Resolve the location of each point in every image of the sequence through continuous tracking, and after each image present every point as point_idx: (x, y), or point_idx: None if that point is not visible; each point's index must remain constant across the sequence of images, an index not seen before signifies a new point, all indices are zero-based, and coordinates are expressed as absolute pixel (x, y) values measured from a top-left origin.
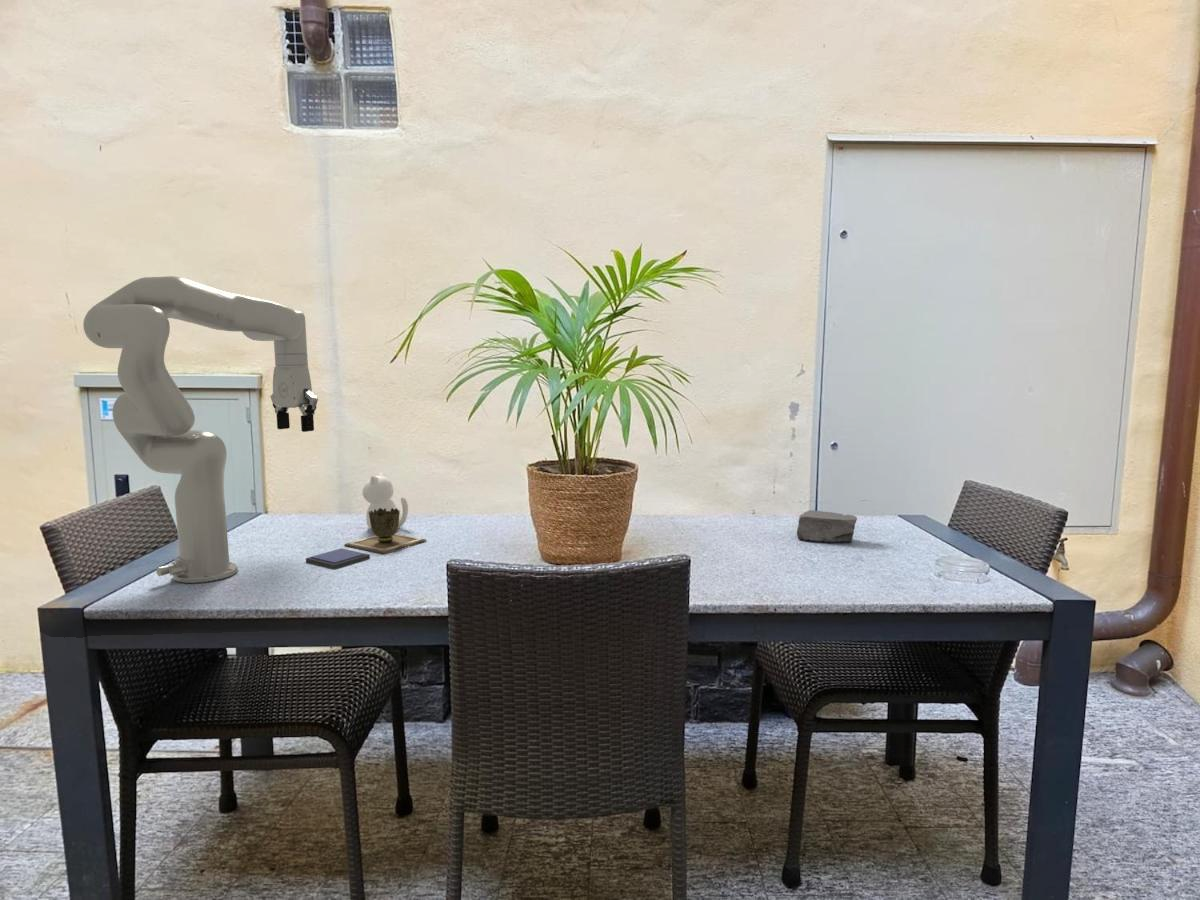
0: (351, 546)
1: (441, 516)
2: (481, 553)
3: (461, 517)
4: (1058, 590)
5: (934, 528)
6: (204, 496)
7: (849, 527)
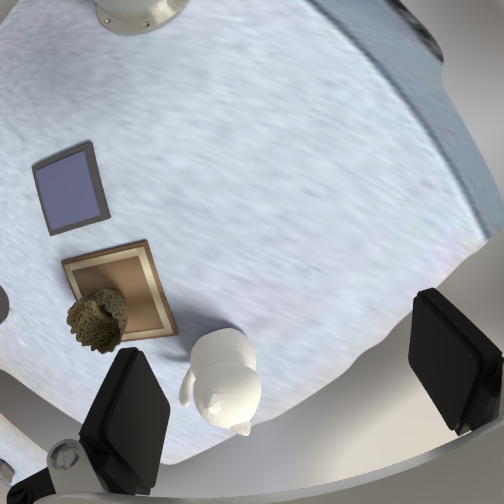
0: (128, 245)
1: None
2: (20, 344)
3: (207, 435)
4: None
5: None
6: None
7: None
